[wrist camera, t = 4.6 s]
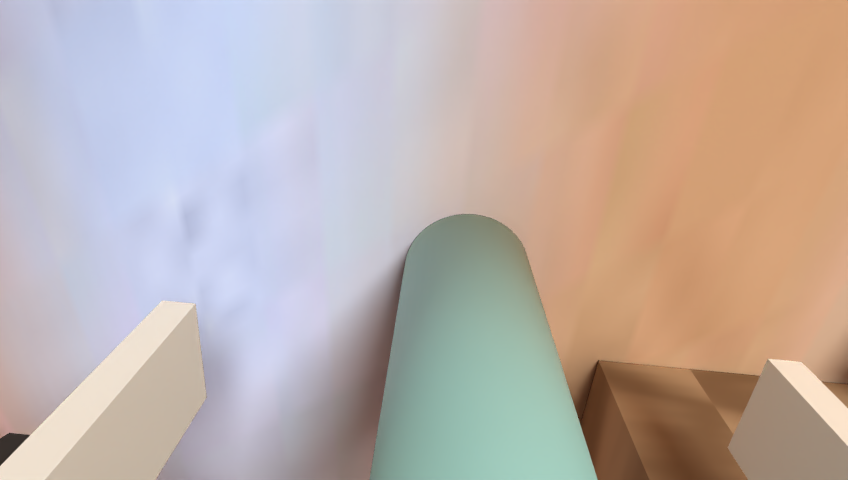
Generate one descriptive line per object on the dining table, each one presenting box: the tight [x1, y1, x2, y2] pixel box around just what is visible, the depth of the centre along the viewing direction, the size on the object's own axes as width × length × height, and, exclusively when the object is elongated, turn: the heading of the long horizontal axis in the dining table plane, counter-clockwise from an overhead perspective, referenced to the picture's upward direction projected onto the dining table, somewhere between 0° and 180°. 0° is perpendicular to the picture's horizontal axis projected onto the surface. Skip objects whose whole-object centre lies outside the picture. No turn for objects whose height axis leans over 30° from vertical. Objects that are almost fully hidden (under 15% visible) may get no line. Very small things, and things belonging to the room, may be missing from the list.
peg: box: [370, 214, 598, 480], centre depth 10 cm, size 4×4×14 cm
